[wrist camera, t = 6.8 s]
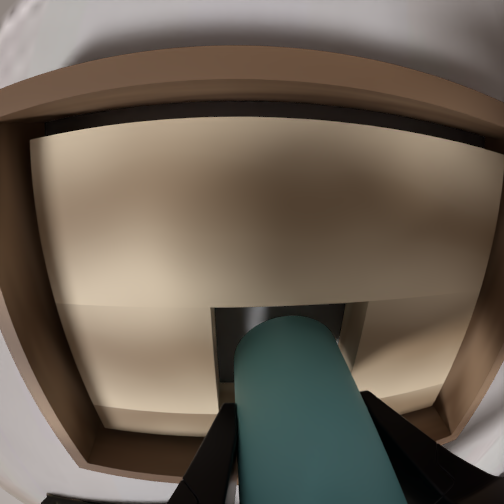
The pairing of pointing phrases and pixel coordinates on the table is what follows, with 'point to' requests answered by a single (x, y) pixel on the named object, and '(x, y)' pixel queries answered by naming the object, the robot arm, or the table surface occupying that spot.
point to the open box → (243, 241)
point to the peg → (305, 421)
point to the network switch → (61, 500)
